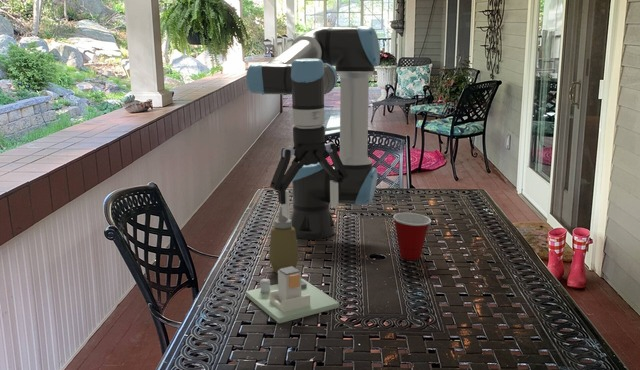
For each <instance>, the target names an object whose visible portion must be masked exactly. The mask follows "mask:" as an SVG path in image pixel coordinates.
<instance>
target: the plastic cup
mask: <svg viewBox="0 0 640 370" xmlns="http://www.w3.org/2000/svg"><path fill="white" fill-rule="evenodd" d="M392 217H393V221H394V225H395V226H394V227H395V231H396V237H397V245H398V251H399V255H400V258H401V259H402V260H406V261H407V260H408V261H415V260H419V259H420V258H421V256H422V252H423V247H424V244H425V239H426V235H427V230H428V228H429V225H430V224H431V222H432V220H431V218H430V217H429V216H426V215H424V214H420V213H415V212H398V213H395V214H393V216H392Z"/></svg>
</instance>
